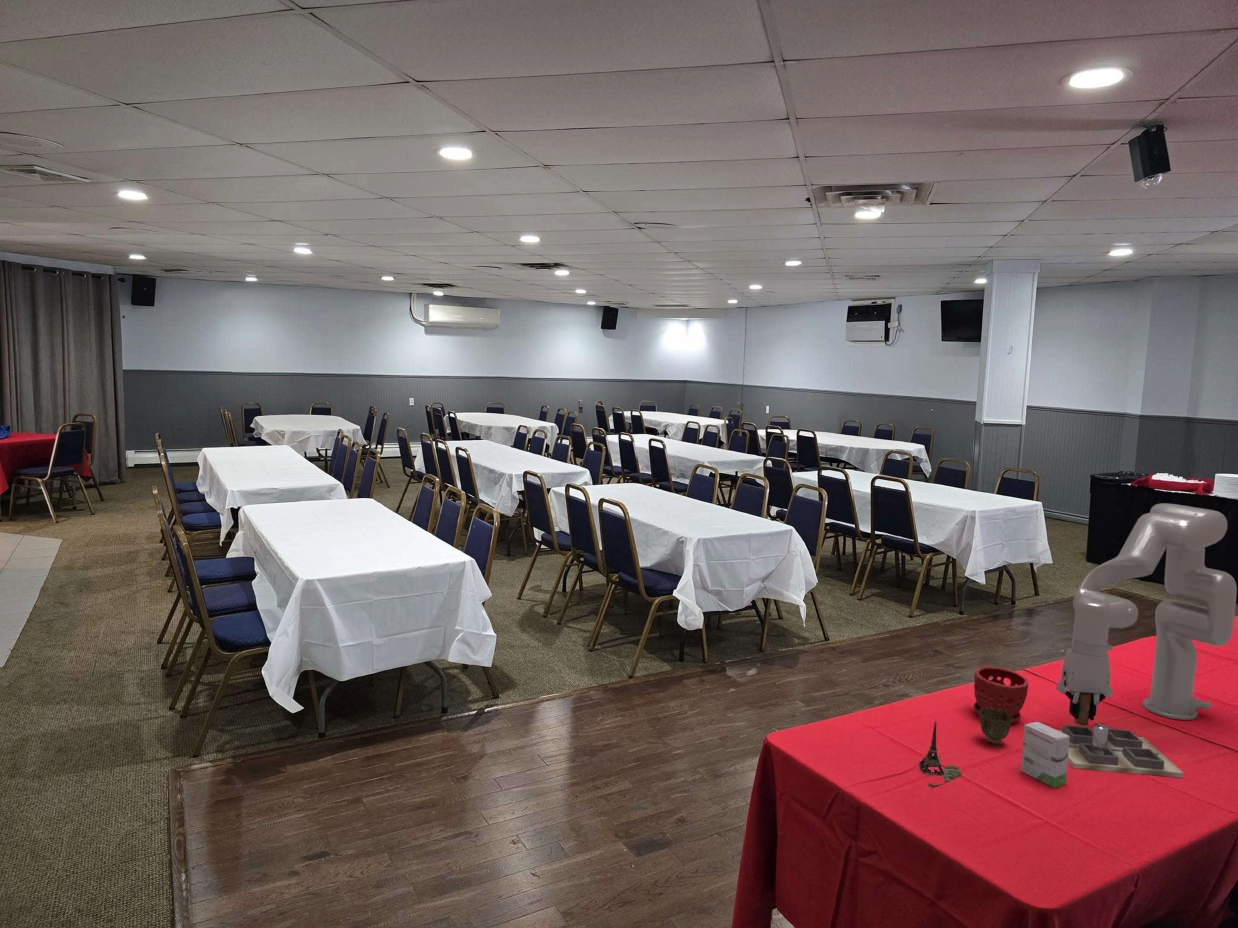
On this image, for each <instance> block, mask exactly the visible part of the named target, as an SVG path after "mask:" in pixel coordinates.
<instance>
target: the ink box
mask: <svg viewBox="0 0 1238 928" xmlns="http://www.w3.org/2000/svg"><path fill="white" fill-rule="evenodd" d="M1057 730H1058V729H1056V728H1052V727H1051V726H1048V725H1045V724H1043V723H1042V722H1039V721H1035V722H1029V723H1026V724H1024V726H1023V740H1022V752H1021V753H1022V754H1021V764H1020V765H1021V767H1020V771H1021V772H1022V773H1024V774H1026V775H1027V776H1030V777H1032V778H1034V779H1036V780H1038V781H1039V782H1041V783H1044V784H1046V785H1048V786H1049V787H1051V788H1054V789H1056V788H1058V787H1061V786H1064V785H1066V784H1067V775H1068V764H1069V762H1068V753H1069V739H1070V736H1068V735H1066V734H1064V733H1062V732H1059V731H1057Z"/></svg>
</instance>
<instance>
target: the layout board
mask: <svg viewBox="0 0 1238 928" xmlns="http://www.w3.org/2000/svg"><path fill="white" fill-rule="evenodd" d="M1056 730H1057V731H1059V732H1062V733H1064V734H1066V735H1068V736H1070V739H1069V753H1068V764H1069V765H1070V766H1071V767H1072V768H1073V769H1079V770H1082V769H1083V770H1089V771H1090V770H1092V771H1103V772H1112V773H1113V772H1114V773H1121V774H1122V773H1124V774H1135V775H1146V776H1159V777H1168V778H1169V777H1170V778H1180V779H1183V778H1184V772H1183V771H1182V770H1181V769H1180V768H1179V767H1178V766H1177V765H1175V764H1174V762H1172V761H1171V760H1170V759H1169V758H1168V757H1166V755H1164V753H1162V752H1161V751H1160V750H1159V749H1157V747H1155V746H1154V744H1152V743H1151V742H1150V741H1149V740H1148V739H1147V738H1146V737H1142V736H1141V737H1140V736H1138V735H1136V734H1135V733H1134V732H1133V731H1132V730H1130V729H1120V728H1119V729H1118V728H1109V727H1108V726H1107V725H1104V724H1101V723H1094V724H1093V729H1091V728H1090V727H1089V726H1083V725H1069V724H1062V729H1061V730H1059V729H1056Z"/></svg>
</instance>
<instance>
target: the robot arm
mask: <svg viewBox="0 0 1238 928" xmlns="http://www.w3.org/2000/svg"><path fill="white" fill-rule="evenodd" d="M1227 530H1228V520H1227V518H1226V516H1225V514H1223V513H1221V512H1220V511H1216V510H1213V509H1209V508H1202V507H1194V506H1189V505H1182V504H1175V503H1157V504H1154V505H1153V506H1152V507H1151V508H1150V511H1149V512H1148V513H1144V514H1142V515H1140V517H1139V518H1138V519H1137V521H1136V523H1134V526H1133V528H1132V529H1131V531H1130V534H1129V535H1128V537H1127V538H1126V540H1125V543H1124V545H1123V546H1122V548H1121V550H1120V552H1119V553H1118V555H1116V557H1114V558H1112V559H1110V560H1107V561H1105V562H1103V563H1101V564H1100V565H1098V566H1097V567H1095V568H1093V569H1092V570H1090V571H1088V573H1087V574H1086V575H1085V577H1084V578H1083V580H1081V583H1080V584H1079V587H1078V588H1077V590H1076V593H1075V594H1074V596H1073V597H1074V598H1073V601H1072V607H1073V610H1074V612H1075V613H1074V621H1073V622H1074V623H1073V630H1072V640H1071V648H1067V650H1066V653H1065V655H1064V660H1063V664H1062V668H1061V672H1060V681H1059V683H1058V684H1057V686H1056V687H1055V689H1056V690H1057V691H1058V692H1059V693H1062V695H1064V696H1066V697H1067V698H1068V699H1069V709H1068V711H1069V714H1070V715H1071V716H1072V717H1073V718H1074V720H1075V719H1078V718H1079V709H1080V704H1079V703H1078V699H1079V694H1080V692H1083V693H1091V702H1090V712H1089V720H1090V721H1094V720H1095V717H1096V716H1097V706H1099V705H1100V703H1101V702H1102V701H1104V700H1105V699H1106V698H1109V697H1112V696H1114V692H1113V690H1112V688H1111V663H1110V657H1109V655H1108V651H1112V650H1114V649H1113V648H1114V647H1113V645H1112V644H1109V643H1108V641H1109V631H1110V630H1109V629H1125V628H1129V627H1132V625H1134V624H1135V623H1136V622H1137V621H1138V618H1139V609H1138V607H1137V605H1136V604H1135V602H1133V601H1131V600H1129V599H1128V598H1127V599H1126V598H1124V597H1120V596H1116V595H1112V594H1109V593H1105V592H1101V590H1102V589H1103V588H1104V587H1105V586H1107V585H1109V584H1112V583H1115V582H1117V581H1122V580H1128V579H1129V580H1130V579H1135V578H1142V577H1148V576H1150V575H1152V574H1153V573H1154V572H1155V569H1156V568H1157V566H1158V564H1159V562H1160V560H1161V559H1162V557H1163V555H1164V553H1165V551H1166V556H1165V567H1164V588H1165V590H1166V592H1167V593H1168V594H1170V595H1172V596H1175V597H1177V598H1180V599H1181V598H1182V599H1186V600H1189V601H1192V602H1193V601H1194V602H1197V603H1201V604H1205V605H1206V606H1207V607H1206V606H1203V605H1199V604H1196V603H1191V602H1187V601H1183V600H1179V599H1178V600H1177V599H1166V600H1163V601H1161V602H1160V603H1158V604H1157V606H1156V609H1155V610H1154V611H1155V612H1154V620H1155V621H1154V622H1155V630H1156V631H1155V632H1156V635H1155V636H1156V641H1155V652H1154V660H1153V667H1152V669H1153V670H1152V678H1151V688H1150V696H1149V697H1146V698H1144V699H1143V700H1142V706H1143V707H1144V708H1145V709H1146V710H1148V711H1149V712H1151V713H1154V714H1156V715H1159V716H1162V717H1164V718H1169V719H1174V720H1182V721H1183V720H1184V721H1192V720H1196V719H1197V718H1198V711H1197V710H1199V709H1204V710H1211V709H1212V704H1211V701H1210V702H1209V701H1201V699H1200V698H1194V697H1193V694H1194V687H1195V686H1194V685H1195V677H1196V672H1197V671H1196V669H1197V661H1198V652H1197V648H1196V646H1195V644H1194V642H1193V641H1195V642H1200V643H1202V644H1207V645H1211V646H1217V647H1218V646H1219V647H1223V646H1225V645H1226V644H1228V643H1229V642H1230V640H1231V639H1232V635H1233V631H1234V625H1235V624H1234V623H1235V615H1236V603H1237V592H1238V591H1237V590H1238V589H1237V583H1236V581H1235V577H1233V576H1232V575H1231V574H1230V573H1228V572H1226V571H1223V570H1220V569H1219V570H1218V569H1215V568H1214V569H1213V568H1209V567H1207V566H1206V564H1205V558H1206V554H1205V553H1206V549H1205V548H1207V547H1209V546H1212V545H1214V544H1216V543H1218V542H1219V541H1221V540H1222V539H1223V538H1224V536H1225V535H1226V532H1227Z"/></svg>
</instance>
